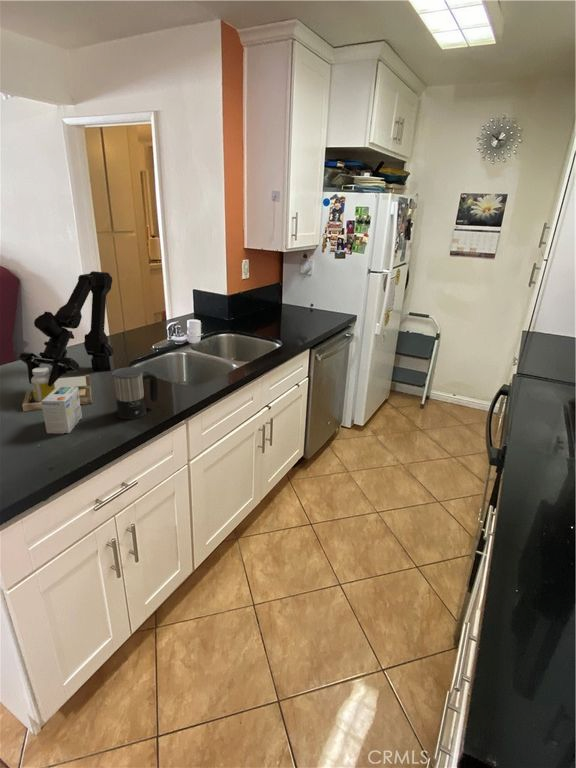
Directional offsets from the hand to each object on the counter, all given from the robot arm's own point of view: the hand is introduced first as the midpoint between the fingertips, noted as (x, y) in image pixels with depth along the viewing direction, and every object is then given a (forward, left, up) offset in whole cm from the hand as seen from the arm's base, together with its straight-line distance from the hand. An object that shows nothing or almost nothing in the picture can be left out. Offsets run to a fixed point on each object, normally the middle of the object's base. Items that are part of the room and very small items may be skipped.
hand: (39, 384), depth 136 cm
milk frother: (-27, +12, -7) cm, 31 cm away
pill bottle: (-1, -1, -7) cm, 7 cm away
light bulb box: (-7, +19, -7) cm, 21 cm away
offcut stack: (-10, -1, -7) cm, 12 cm away
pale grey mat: (-8, -14, -7) cm, 17 cm away
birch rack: (-5, -1, -7) cm, 8 cm away
